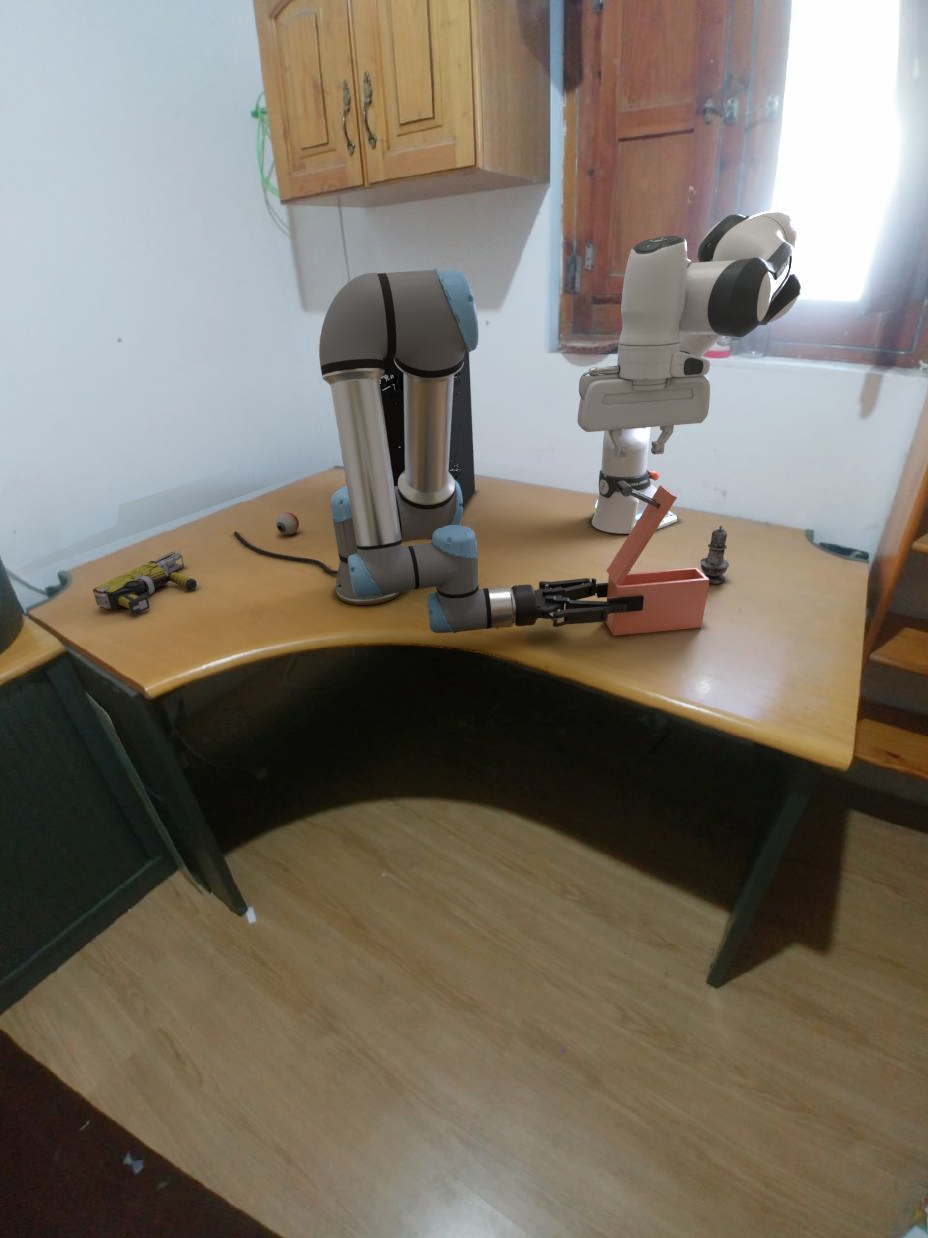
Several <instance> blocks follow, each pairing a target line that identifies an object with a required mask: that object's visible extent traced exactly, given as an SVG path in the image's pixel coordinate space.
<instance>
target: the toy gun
mask: <svg viewBox="0 0 928 1238" xmlns="http://www.w3.org/2000/svg"><path fill="white" fill-rule="evenodd" d="M180 559H181V563H178V562H177V561H179V560H180ZM184 563H185V562H184V559H183V555H182V553H181V552H176V551H171V552H169V553H167V554H164V555H163V556H161V557H158V558H156V559H155V560H149V561H148V562H146V563H143V564H142V565H140V566H138V567H135V568H134V569H131V570H129V571H127V572H125V573H122V574H121V575H119V576H117V577H115V578H112V579H111V580H108V581H106V582H104V583H102V584H100V585H98V586H95V587H94V588H93V589H92V593H93V595H94V601H95V603H96V606H98V607H99V608H100V610H102V609H103V610H104V611H106V610H116V609H120V608H127V609H128V610H129V611H130V615H131V616H136V615H138V614H140V613H142V612H145V611H147V610H150V609H151V607H150V603H149V598H148V597H149V596H151V595H152V594H154V593H155V590H156V589H157V588H160V587H163V586H164V585H167V584H168V583H169V582H171V583H174V584H176V585H178V586H181V587H182V588H186V589H187V590H189V591H192V590H194V589H196V588H197V587H198V585H197V582H198V581H197V580H195V579H194V578H190V577H188V576H186V575H183V574H180V573H178V572H177V570H179V569H181V568H184V566H185V564H184Z"/></svg>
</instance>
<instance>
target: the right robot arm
mask: <svg viewBox="0 0 928 1238" xmlns="http://www.w3.org/2000/svg"><path fill="white" fill-rule="evenodd" d="M801 241H802V229H801V225H800V223H799V221H798V219H797V218H796V217H795V216H794V215H793V214H792V213H790V212H788V211H785V210H769V211H764V212H760V213H757V214H755V215H752V216H750V215H746V216H745V215H743V214H739V213H735V214H729V215H727V216H725V218H723V219H721V220H719V221H718V222H716V223H715V224H713V226H712V227H710V229H709V230H708V231H707V232H706V234H705V235H704V237H703V239H702V242H701V243H700V244H699V246H698V247H697V248H698V249H697V255H696V256H697V260H698V261H697V262H696V261H695V262H692V260H691V259H688V244H687V240H686V238H684V237H682V236H678V235H666V236H658V237H653V238H648V239H645V240H642V241H640V242H638V243H636V244H635V245H634V246H632V247H631V249H630V252H629V255H628V258H627V262H626V266H625V272H624V277H623V284H622V292H621V293H622V294H621V303H620V304H621V305H620V314H621V320H622V326H621V327H622V328H621V333H620V335H619V339H618V347H617V360H616V365H609V366H608V365H607V366H604V367H598V366H596V367H594V366H593V367H590V368H589V369H588V370H587V371H585V372H584V373H582V375H581V376H580V378H579V382H578V394H579V397H580V399H579V404H578V411H577V425H578V426H579V427H580V428H581V430H583V432H586V433H595V432H603V440H602V453H601V468H600V470H599V474H598V492H599V493H598V498H597V500H596V503H595V506H594V507H595V511H594V514H593V517H592V520H591V525H592V526H593V527H594V528H595V529H597V530H599V531H601V532H605V533H611V534H623V535H625V534H626V535H629V534H630V532H631V531H632V529H633V528H634V526H635V524H636V523H637V521H638V520H639V518H640V516H641V515H642V513H643V512H644V510H645V508H646V507H647V505H648V503H646V502H644V501H642V500H640V499H638V498H635V497H633V496H631V495H630V496H628V497H625V496H623V495H622V494H621V493H620V492H619V491H618V490H617V488H616V485H617V483H618V482H619V481H625V482H626V483H627V484H628V485H629V486H631V487H632V489H634V490H636V491H638V492H640V493H642V494H644V495H646V496H648V497H651V498H652V497H653V496H654V494H655V492H656V491H657V489H658V488H656V487H655V486H654V485H652V483H651V480H653V481H658V479H659V478H660V473H659V472H657V471H654V470H651V471H649V470H648V469H647V466H648V458H649V457H648V456H649V447H650V440H651V428H658V427H659V430H660V431H661V433H660V434H659V436H658V437H657V439H656V440H654V441H651V449H650V452H651V454H652V455H663V454H664V453H665V446H666V445H665V444H666V443H667V442H668V440H669V439H670V437H671V436H672V435H673V434H674V430H675V429H674V427H675V426H681V425H682V426H683V425H693V424H695V425H696V424H702V423H703V422H704V421H705V420H706V419H707V417H708V415H709V410H710V400H711V384H710V380H709V378H708V377H707V376H706V375H707V374H709V371H710V366H711V362H710V360H709V359H706V358H705V357H703V356H704V355H705V354H706V353H708V351H709V350H711V349H712V347H714V346H715V345H716V343H718V342H720V340H721V339H722V338H723V337H731V338H740V339H741V338H744V337H746V336H747V335H749V334H750V333H752V332H753V331H754V330H755V329H757V328H758V327H759V326H766V325H768V324H770V323H774V322H775V321H778V320H779V319H781V318H782V317H784V316H785V315H786V314H787V313H788V312H789V311H790V310H791V309H792V308H793V306H794V305H795V304H796V302H797V300H798V297H800V296H801V293H802V290H803V284H802V282H801V279H800V277H799V275H798V274H797V272H794V271H793V269H792V266H793V259H794V256H796V253H797V252H798V249H799V247H800V243H801ZM677 522H678V516H677V515H676V514H675V513H674V512H672V511H670V510H669V511H668V512H667V514H666V516H665V517H664V519H663V520H662V522H661V523H660V525H659V526H658V528H657V529H656V531H657V530H660V529H662V528H665V527H668V526H670V525H672V524H675V523H677Z"/></svg>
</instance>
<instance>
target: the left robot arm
mask: <svg viewBox="0 0 928 1238" xmlns="http://www.w3.org/2000/svg"><path fill="white" fill-rule="evenodd" d="M478 320H479V319H478V311H477V307H476V302H475V297H474V293H473V290H472V287H471V284H470V281H469V280H468V278H467V277H466V275H465V274H464V273H463V272H462V271H460V270H458V269H439V268H437V267H436V268H435V267H434V268H433V269H427V270H412V271H411V270H410V271H409V270H408V271H395V272H394V271H393V272H379V273H377V272H368V273H363V274H359V275H357V276H355V277H353V278H352V279H350V280H349V281H348V282H346V284H344V285H343V286H342V288H340V290H339V291H337V293H336V295H335V296H334V297H333V299H332V300H331V303H330V305H329V306H328V309H327V311H326V313H325V315H324V319H323V322H322V326H321V331H320V336H319V344H318V346H319V347H318V359H319V366H320V372H321V378H322V380H323V381H324V382H326V383H327V384H328V385H329V387H330V391H331V398H332V403H333V409H334V415H335V421H336V428H337V435H338V440H339V447H340V452H341V459H342V464H343V470H344V471H343V472H344V476H345V477H344V478H345V482H346V485H345V486H342V487H340V488H339V489H337V490H336V491H335V492H334V494H333V495H332V496H331V498H330V511H331V514H330V515H331V517H330V518H331V521H332V522H333V528H334V534H335V542H336V548H337V552H338V559H339V563H338V569H337V570H335V569H334V570H333V569H331V568H329V567H328V566H327V565H326V564H325V563H324V562H322V561H320V560H317V559H314V558H307V557H300V556H299V557H298V556H293V555H288V554H287V555H286V554H281V553H277V552H276V553H275V552H271V551H267V550H264V549H261V548H258V547H256V546H254V545H252V544H251V543H250V542H249V541H247V540H246V539H244V538H243V537H242V536H241V535H240V534H239V533H238V532H237V531H236V530H235V531H234V532H233V534H234V535H235V537H236V538H237V539H238V540H239V541H241V542H242V543H243V544H244V545H245V546H246V547H248V548H250V549H251V550H253V551H256V552H258V553H260V554H263V555H266V556H270V557H275V558H278V559H279V558H280V559H285V560H291V561H297V562H307V563H313V564H317V565H319V566H320V567H321V568H322V569H323V570H324V571H326V572H327V573H328V574H331V575H336V580H335V592H336V596H337V598H338V599H339V600H340V601H342V602H343V603H346V604H349V605H354V606H372V605H373V606H374V605H379V604H383V603H387V602H390V601H392V600H394V599H396V598H397V597H399V596H400V595H402V594H403V593H404V592H409V591H415V590H421V589H428V588H435V587H436V591H434V592H430V593H429V594H427V596H426V602H427V614H428V624H429V629H430V631H431V632H432V633H434V634H452V633H453V634H457V633H463V632H471V631H479V630H480V631H481V630H491V629H496V630H499V629H503V628H511V627H513V625H514V626H516V627H517V628H519V627H527V626H534V625H535V624H536V622H537V620H539V619H543V620H544V619H545V620H550V621H552V627H554V628H559V627H563V626H567V625H568V626H569V625H576V624H577V625H578V624H592V623H593V624H595V623H606V621H607V619H608V614H611V613H620V612H631V611H642V610H643V602H644V597H643V595H641V596H630V597H619V598H607V591H608V582H600V583H599V582H598V583H597V578H595V577H594V578H593V577H592V578H589V577H584V578H575V579H565V580H564V579H563V580H556V581H546V580H544V581H543V580H542V581H538V588H537V589H534V587H533V585H532V584H529V583H528V584H517V585H513V586H512V587H511V588H510V587H509V586H508V585H505V586H495V587H483V588H480V587H479V586H480V585H479V551H478V543H477V536H476V533H475V531H474V530H473V529H471V528H470V527H468V526H465V525H462V520H463V516H464V515H463V514H464V509H463V507H462V504H463V498H462V492H461V488H460V486H459V484H458V482H457V481H456V480H454V478H453V477H452V475H451V474H450V473H449V472H448V469H449V452H450V434H451V417H452V400H453V382H454V374H456V373H457V372H459V371H460V370H461V368H462V367H463V364H464V353H465V351H467V352H469V353H471V352H472V351H475V350H476V349H477V346H478V345H479V335H480V334H479V321H478ZM383 358H394V362H395V364H396V366H397V367H398V368H399V369H400V370H401V371H402V372H403V373H404V433H405V471H404V472H403V473H402V474H401V475H400V477H399V479H398V486H394V482H393V475H392V468H391V461H390V454H389V447H388V440H387V432H386V425H385V418H384V411H383V404H382V397H381V390H380V384H381V383H379V381H381V380H380V378H381V377H382V375H383V374H384V364H383ZM382 378H383V377H382ZM429 539H431V542H428V543H420V544H414V545H406V546H404V545H403V542H412V541H419V540H429ZM594 596H596V598H597V599H602V598H606V600H605V601H604V600H603V601H602V600H583V599H586V598H587V599H588V598H591V597H594Z"/></svg>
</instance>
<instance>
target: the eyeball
mask: <svg viewBox="0 0 928 1238" xmlns="http://www.w3.org/2000/svg"><path fill="white" fill-rule="evenodd" d="M299 525H300V522H299V519H298V517H297V516H296V515H295V514H294V513H292V512H287V511H286V512H282V513H280V514H279V515H278V516H277V517H276V520H275V527H276V529H277V530H278V531H279V532H280V533H281V534H282V535H285V536H286V535H287V536H289V535H293V534H295V533H296V532H297V531H298V529H299Z"/></svg>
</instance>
